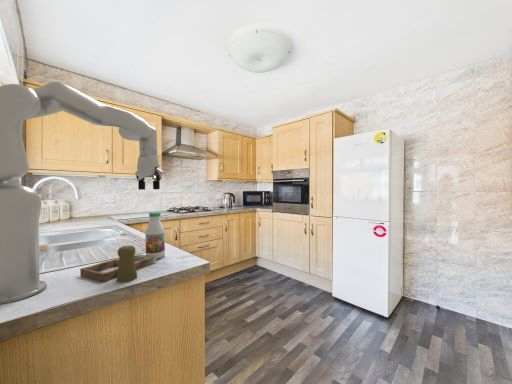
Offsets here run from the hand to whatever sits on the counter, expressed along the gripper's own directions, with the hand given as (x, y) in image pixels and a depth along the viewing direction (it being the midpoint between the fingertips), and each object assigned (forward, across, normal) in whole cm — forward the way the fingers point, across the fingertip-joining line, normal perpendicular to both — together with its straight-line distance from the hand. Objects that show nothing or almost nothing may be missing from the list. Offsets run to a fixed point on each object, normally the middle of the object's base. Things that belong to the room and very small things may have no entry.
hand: (149, 189), depth 101 cm
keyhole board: (+30, +7, -19) cm, 37 cm away
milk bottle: (+31, +8, -3) cm, 32 cm away
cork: (+31, +18, -24) cm, 43 cm away
